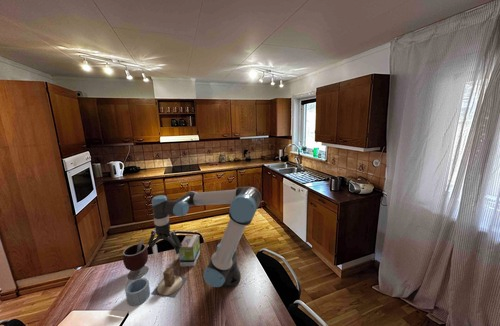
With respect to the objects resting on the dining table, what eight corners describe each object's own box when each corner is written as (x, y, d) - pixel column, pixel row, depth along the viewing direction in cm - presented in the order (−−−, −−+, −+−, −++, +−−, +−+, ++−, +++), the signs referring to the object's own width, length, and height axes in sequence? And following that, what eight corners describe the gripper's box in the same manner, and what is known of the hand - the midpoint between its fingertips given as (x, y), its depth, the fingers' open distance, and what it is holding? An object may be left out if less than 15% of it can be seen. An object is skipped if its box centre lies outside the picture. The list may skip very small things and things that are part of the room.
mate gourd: (139, 282, 124) (135, 253, 120) (120, 279, 127) (115, 250, 123) (156, 265, 139) (152, 238, 135) (138, 263, 142) (134, 237, 138)
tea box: (194, 266, 136) (193, 247, 133) (180, 267, 136) (177, 247, 134) (200, 252, 151) (199, 234, 148) (187, 253, 151) (185, 235, 148)
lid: (186, 278, 125) (185, 264, 124) (174, 297, 112) (172, 281, 110) (166, 275, 128) (164, 261, 126) (151, 293, 115) (149, 278, 113)
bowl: (154, 291, 117) (152, 279, 115) (140, 308, 106) (138, 295, 105) (137, 288, 119) (135, 277, 118) (122, 305, 109) (120, 292, 107)
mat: (188, 278, 126) (188, 277, 126) (174, 298, 111) (174, 297, 111) (166, 275, 129) (166, 274, 129) (150, 294, 115) (150, 294, 114)
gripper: (186, 221, 114) (189, 255, 118) (147, 218, 119) (151, 250, 123) (178, 228, 106) (182, 263, 110) (137, 224, 111) (142, 258, 115)
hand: (166, 257), depth 117 cm, fingers open, 13 cm apart
